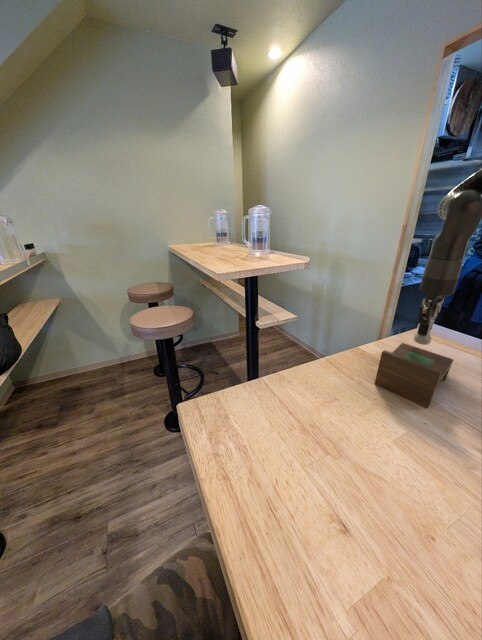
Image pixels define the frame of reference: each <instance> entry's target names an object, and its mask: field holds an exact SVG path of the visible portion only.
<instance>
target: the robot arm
mask: <svg viewBox="0 0 482 640" xmlns="http://www.w3.org/2000/svg"><path fill="white" fill-rule="evenodd" d="M437 214H438V217H439V218H440V219H442V220H443V221H444V223H443V226H442V228H441V230H440V233H438V234H437V235H436V236H435V237H434V239H433V241H432V244H431V248H430V252H429V256H428V259H427V261H426V263H425V266H424V270H423V274H422V278H421V281H420V285H419V290H420V292H421V293H425V294H426V297H424V298H423V299H422V301H421V304H420V306H419V307H418V308H419V309H418V315H417V316H418V317H417V323H419V324H418V329H417V332H416V333H418V334H419V335H423V336H426V335H427V333H428V329H429V326H430V324H431V320H432V318H434V320H436V319H437V317H438V315H439V314H440V312H441V310H442V309H441V308H442V306H443V304H444V301H445V298H446V297H447V296H451V295H453V294H455V291H456V287H457V284H458V281H459V278H460V275H461V271H462V268H463V262H464V258H465V255H466V251H467V248H468V245H469V241H470V239H471V238H472V237H473V235H474V234H475V232H476V230H477V228H478V226H479V224H480V223H481V221H482V167H481V168H480V169H479V170H478V171H476V172H475V173H473V174H471V175H470V176H469V177H467V178H466V179H465V180H463V181H462V182H460V183H459V184H458V185H457V186H455V187H454V188H453V189H452V190H450V191H449V192H448V193H446V195H445V196H444V197H443V198H442V199H441V201H440V202H439V203H438V206H437ZM423 318H426V319H427V320H426V319H423ZM433 326H434V323H432V327H431V328H430V332H431V331H432V329H433Z"/></svg>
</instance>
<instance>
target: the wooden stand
mask: <svg viewBox="0 0 482 640" xmlns="http://www.w3.org/2000/svg"><path fill="white" fill-rule="evenodd" d="M454 360H455V359H454V358H450V357H447V356H444V355H442V354H438V353H436V352H432V351H429V350H426V349H423V348H420V347H417V346H413V345H411V344H408V343H405V342H402V343H400V344H399V345H398V346H397V347H396V348H395V349H394V350H392V352H391V351H389V350H386V349H384V350H382V351H381V354H380V358H379V362H378V367H377V372H376V375H375V378H374V379H375V380H374V385H376V386H378V387H380V388H383V389H385V390H387V391H389V392H390V393H393V394H395V395H397V396H399V397H402V398H404V399H406V400H409V401H411V402H413V403H415V404H417V405H419V406H421V407H423V408H424V409H425V408H426V409H429V408H430V406H431V404H432V402H433V398H434V396H435V393H436V391H437V388H438V387H439V385H440V383H441V382H445V381H446V380H447V378H448V376H449V372H450V370H451V368H452V366H453V363H454Z"/></svg>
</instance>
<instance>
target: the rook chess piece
mask: <svg viewBox="0 0 482 640" xmlns="http://www.w3.org/2000/svg"><path fill="white" fill-rule="evenodd" d="M423 319H426V318H423ZM426 320H427V319H426ZM432 323H433V324H434V323H435V319H434V318H432V320H431V324H430V326H429V329H428V333H427V335H426V336H423V335H419V334H418V333H417V332H416V333H414V335H413V337H412V340H413V342H414V343H417V344H419V345H423V346H425V345H430V344H431V343H432V342H431V341H432V337H431V331H430V328H431V327H432V328H433V326H432Z"/></svg>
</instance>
